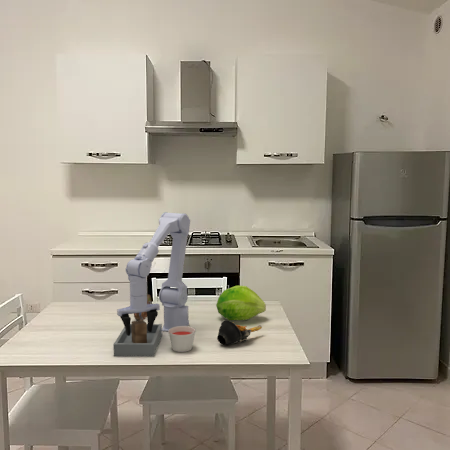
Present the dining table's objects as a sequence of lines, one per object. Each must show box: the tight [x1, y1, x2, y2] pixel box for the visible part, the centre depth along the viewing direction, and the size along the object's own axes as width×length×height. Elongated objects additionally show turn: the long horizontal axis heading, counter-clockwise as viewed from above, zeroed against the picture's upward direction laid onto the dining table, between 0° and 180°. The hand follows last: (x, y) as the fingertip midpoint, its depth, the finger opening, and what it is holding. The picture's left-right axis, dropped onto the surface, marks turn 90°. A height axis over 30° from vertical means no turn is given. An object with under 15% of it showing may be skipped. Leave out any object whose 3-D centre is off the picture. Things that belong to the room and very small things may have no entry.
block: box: [130, 320, 148, 343], centre depth 162 cm, size 4×4×7 cm
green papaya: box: [215, 285, 267, 322], centre depth 190 cm, size 15×20×14 cm
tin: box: [133, 294, 153, 321], centre depth 193 cm, size 15×3×8 cm, turn 168°
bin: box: [113, 323, 163, 357], centre depth 163 cm, size 13×20×4 cm, turn 0°
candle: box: [168, 325, 196, 353], centre depth 160 cm, size 9×9×6 cm
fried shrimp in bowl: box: [216, 319, 263, 346], centre depth 167 cm, size 9×11×18 cm
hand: (139, 333), depth 162 cm, fingers open, 7 cm apart
